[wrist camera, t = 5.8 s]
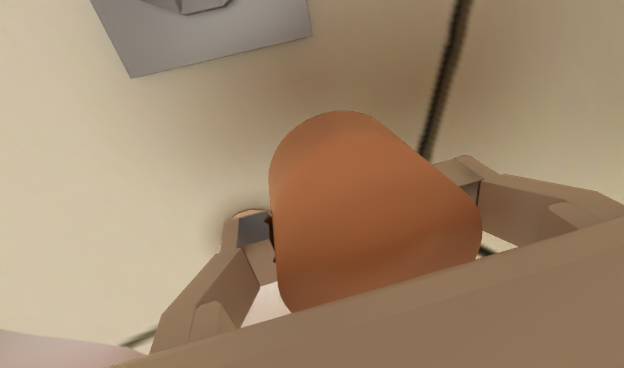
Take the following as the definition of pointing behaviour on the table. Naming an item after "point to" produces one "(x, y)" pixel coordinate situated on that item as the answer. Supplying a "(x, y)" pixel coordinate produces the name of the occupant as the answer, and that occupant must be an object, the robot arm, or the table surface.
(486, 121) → the table surface
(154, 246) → the table surface
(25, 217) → the table surface
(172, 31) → the square flange plate
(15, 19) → the table surface
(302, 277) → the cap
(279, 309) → the white cup
